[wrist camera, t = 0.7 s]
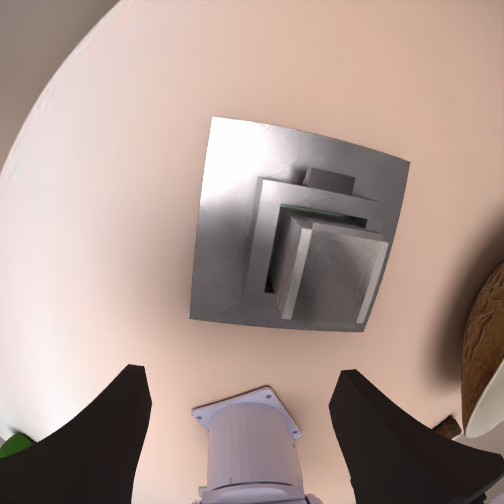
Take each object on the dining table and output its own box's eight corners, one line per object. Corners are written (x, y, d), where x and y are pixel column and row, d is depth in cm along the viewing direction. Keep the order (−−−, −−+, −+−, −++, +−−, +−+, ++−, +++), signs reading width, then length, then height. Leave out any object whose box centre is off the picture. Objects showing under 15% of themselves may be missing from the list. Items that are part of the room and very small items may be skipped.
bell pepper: (57, 463, 29) (43, 503, 19) (22, 445, 28) (5, 482, 18) (42, 440, 26) (23, 485, 17) (6, 420, 25) (-16, 460, 16)
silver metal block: (326, 278, 18) (361, 328, 13) (265, 271, 18) (279, 324, 12) (342, 209, 17) (391, 236, 11) (278, 198, 16) (302, 220, 11)
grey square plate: (358, 325, 21) (378, 355, 17) (191, 311, 20) (183, 345, 16) (402, 161, 17) (437, 164, 13) (213, 118, 16) (208, 107, 12)
